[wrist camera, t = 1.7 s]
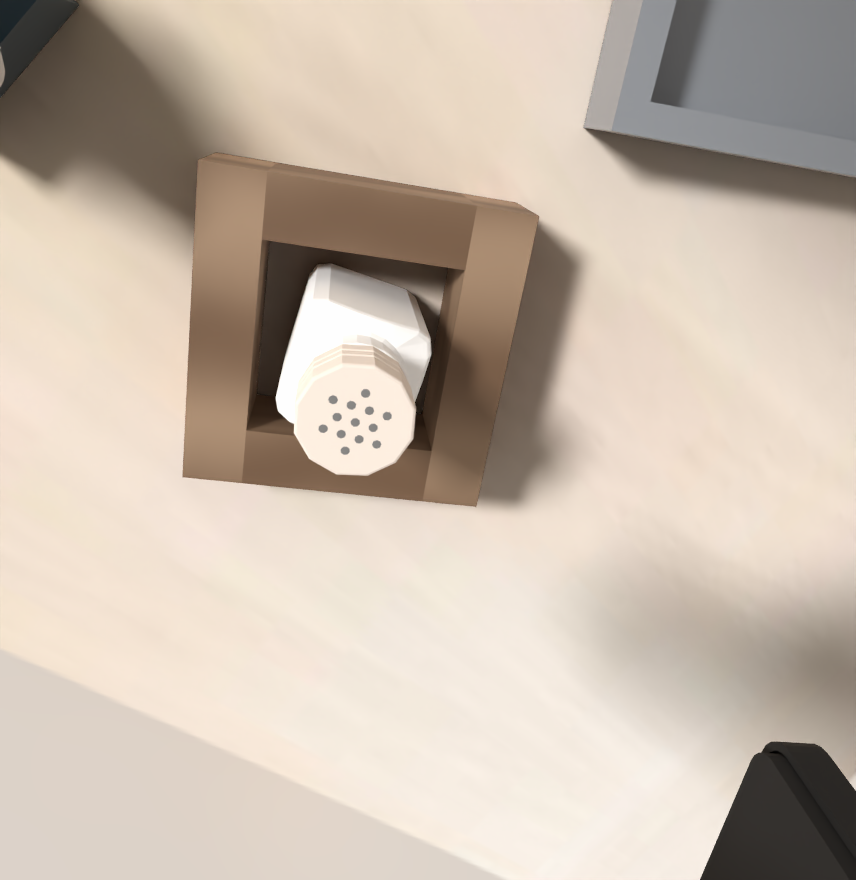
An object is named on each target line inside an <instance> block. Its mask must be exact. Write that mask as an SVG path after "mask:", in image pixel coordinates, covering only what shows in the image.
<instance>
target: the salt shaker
mask: <svg viewBox="0 0 856 880" xmlns="http://www.w3.org/2000/svg"><path fill="white" fill-rule="evenodd" d="M431 354H432V353H431V338H430V335H429V333H428V330H427V327H426V325H425V322H424V319H423V316H422V314H421V311H420V308H419V305H418V303H417V300H416V298H415V297H414V296H413V295H412V294H411V293H410V292H409V291H408V290H406V289H404V288H401V287H398V286H395V285H392V284H389V283H386V282H384V281H381V280H378V279H375V278H372V277H369V276H366V275H363V274H360V273H358V272H355V271H352V270H349V269H346V268H343V267H340V266H337V265H334V264H331V263H330V264H318V265H317V266H316V267H315V268H314V269H313V271H312V272H311V273H310V274H309V278H308V281H307V284H306V287H305V291H304V294H303V297H302V300H301V303H300V307H299V310H298V313H297V316H296V320H295V323H294V326H293V329H292V333H291V336H290V339H289V342H288V346H287V350H286V354H285V358H284V363H283V367H282V372H281V376H280V381H279V385H278V390H277V394H276V403H277V409H278V412H279V413H280V414H282V415H283V416H284V417H285V418H286V419H287V420H288V421H289V422H291V423H293V424H294V434H295V436H296V438H297V439H298V441H299V443H300V444H301V446H302V448H303V449H304V451H305V453H306V454H307V456H308V458H309V459H310V460H312V461H313V462H315V463H317V464H319V465H320V466H322V467H324V468H326V469H328V470H329V471H331V472H333V473H335V474H336V475H362V476H368V475H370V474H372V473H374V472H377V471H379V470H381V469H383V468H385V467H387V466H390V465H392V464H394V463H396V462H397V460H398V459H399V458H400V456H401V455H402V453H403V452H404V451H405V449H406V448H407V447H408V445H409V444H410V443H411V441H412V440H413V439H414V428H415V417H416V406H415V400H416V398H417V395H418V392H419V390H420V387H421V384H422V381H423V379H424V376H425V372H426V369H427V366H428V363H429V360H430V357H431Z"/></svg>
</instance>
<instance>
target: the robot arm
mask: <svg viewBox="0 0 856 880" xmlns="http://www.w3.org/2000/svg"><path fill="white" fill-rule="evenodd" d="M700 880H856V791H855V789H854V788H853V787H852V785H851V784H850V783H849V781H848V780H847V779H846V777H845V776H844V775H843V773H842V772H841V771H840V769H839V768H838V767H837V765H836V764H835V763H834V761H833V760H832V759H831V757H830V756H829V755H828V753H827V752H826V751H825V750H824V749H823V748H822V747H820V746H818V745H816V744H806V743H789V742H770V743H769V744H767V745H766V746H765V747H764V749H763V751H762V752H761V753H757V754H756V755H754V757H753V758H752V760H751V762H750V764H749V767H748V769H747V771H746V774H745V776H744V778H743V781H742V783H741V785H740V788H739V790H738V792H737V795H736V797H735V799H734V802H733V804H732V806H731V809H730V811H729V813H728V816H727V818H726V820H725V823H724V825H723V827H722V830H721V832H720V834H719V837H718V839H717V841H716V844H715V846H714V848H713V851H712V853H711V855H710V858H709V860H708V862H707V865H706V867H705V869H704V872H703V874H702V876H701V879H700Z"/></svg>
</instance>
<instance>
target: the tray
mask: <svg viewBox="0 0 856 880" xmlns="http://www.w3.org/2000/svg"><path fill="white" fill-rule="evenodd" d="M584 128H589V129H594V130H599V131H605V132H610V133H615V134H621V135H626V136H632V137H637V138H642V139H648V140H653V141H658V142H664V143H669V144H675V145H680V146H685V147H691V148H696V149H702V150H707V151H712V152H718V153H723V154H728V155H734V156H739V157H745V158H750V159H755V160H761V161H766V162H771V163H777V164H782V165H788V166H793V167H798V168H804V169H809V170H814V171H820V172H825V173H831V174H836V175H841V176H847V177H852V178H856V0H613V1H612V5H611V10H610V14H609V18H608V23H607V27H606V31H605V36H604V40H603V45H602V49H601V53H600V58H599V62H598V66H597V71H596V75H595V80H594V84H593V88H592V93H591V97H590V101H589V106H588V110H587V115H586V119H585V123H584Z"/></svg>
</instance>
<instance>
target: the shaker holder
mask: <svg viewBox="0 0 856 880" xmlns="http://www.w3.org/2000/svg"><path fill="white" fill-rule="evenodd" d="M538 219H539V216H538V215H536V214H535V213H533V212H531V211H529V210H528V209H526V208H524V207H523V206H521V205H519V204H518V203H515V202H509V201H503V200H497V199H491V198H485V197H479V196H473V195H467V194H461V193H455V192H449V191H443V190H437V189H431V188H425V187H419V186H413V185H408V184H402V183H396V182H390V181H384V180H378V179H372V178H366V177H360V176H354V175H348V174H342V173H336V172H330V171H324V170H318V169H312V168H306V167H300V166H294V165H288V164H282V163H276V162H270V161H264V160H258V159H252V158H246V157H240V156H234V155H228V154H222V153H213V154H211V155H208V156H206V157H204V158H201V159H199V160H198V165H197V186H196V207H195V228H194V248H193V269H192V290H191V311H190V332H189V353H188V374H187V395H186V416H185V437H184V458H183V477H187V478H197V479H207V480H217V481H227V482H237V483H247V484H257V485H266V486H276V487H286V488H296V489H306V490H316V491H326V492H336V493H346V494H356V495H366V496H376V497H386V498H395V499H405V500H415V501H425V502H435V503H445V504H455V505H465V506H475V507H476V505H477V501H478V496H479V491H480V487H481V482H482V478H483V473H484V468H485V464H486V459H487V455H488V450H489V445H490V441H491V436H492V431H493V427H494V422H495V418H496V413H497V408H498V404H499V399H500V395H501V390H502V385H503V381H504V376H505V372H506V367H507V362H508V358H509V353H510V349H511V344H512V339H513V335H514V330H515V325H516V321H517V316H518V312H519V307H520V302H521V298H522V293H523V289H524V284H525V279H526V275H527V270H528V266H529V261H530V256H531V252H532V247H533V242H534V238H535V233H536V229H537V224H538ZM270 241H274V242H281V243H288V244H294V245H301V246H308V247H314V248H321V249H327V250H334V251H341V252H347V253H354V254H361V255H367V256H374V257H381V258H387V259H394V260H400V261H407V262H414V263H420V264H427V265H434V266H440V267H447V268H448V271H447V277H446V283H445V288H444V294H443V300H442V305H441V311H440V317H439V322H438V328H437V334H436V339H435V345H434V351H433V356H432V362H431V368H430V373H429V379H428V385H427V390H426V396H425V402H424V407H423V413H422V414H417V413H416V417H415V428H414V439H413V440H412V441H411V443H410V444H409V445H408V447H407V448H406V449H405V451H404V452H403V453H402V455H401V456H400V458H399V459H398V460H397V462H396V463H394V464H392V465H390V466H387V467H385V468H383V469H381V470H379V471H377V472H374V473H372V474H370V475H368V476H362V475H336V474H335V473H333V472H331V471H329V470H328V469H326V468H324V467H322V466H320V465H319V464H317V463H315V462H313V461H312V460H310V459H309V458H308V456H307V454H306V453H305V451H304V449H303V448H302V446H301V444H300V443H299V441H298V439H297V438H296V436H295V434H294V424H293V423H291V422H289V421H288V420H287V419H286V418H285V417H284V416H283V415H282V414H280V413H279V412H278V409H277V403H276V397H274V396H266V395H258V394H257V385H258V373H259V362H260V350H261V338H262V326H263V315H264V303H265V291H266V280H267V268H268V256H269V245H270Z"/></svg>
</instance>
